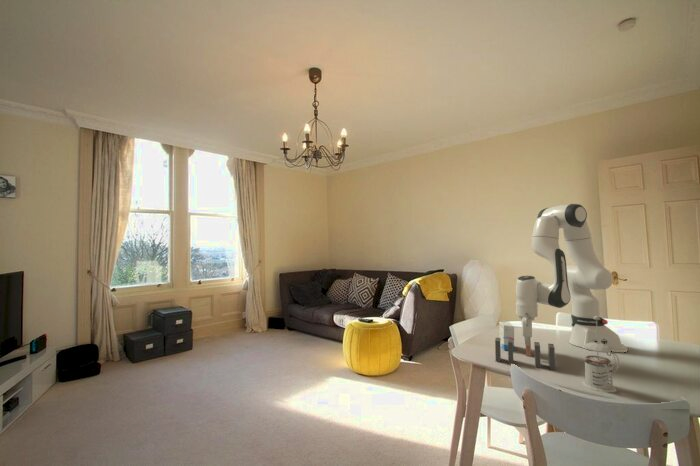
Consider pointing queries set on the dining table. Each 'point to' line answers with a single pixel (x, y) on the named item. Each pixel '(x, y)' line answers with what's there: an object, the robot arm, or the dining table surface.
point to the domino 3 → (528, 350)
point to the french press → (599, 368)
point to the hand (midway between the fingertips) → (526, 342)
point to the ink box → (506, 334)
